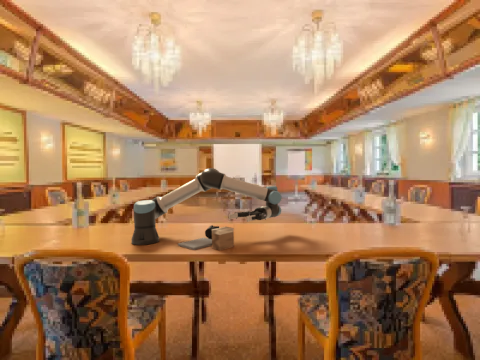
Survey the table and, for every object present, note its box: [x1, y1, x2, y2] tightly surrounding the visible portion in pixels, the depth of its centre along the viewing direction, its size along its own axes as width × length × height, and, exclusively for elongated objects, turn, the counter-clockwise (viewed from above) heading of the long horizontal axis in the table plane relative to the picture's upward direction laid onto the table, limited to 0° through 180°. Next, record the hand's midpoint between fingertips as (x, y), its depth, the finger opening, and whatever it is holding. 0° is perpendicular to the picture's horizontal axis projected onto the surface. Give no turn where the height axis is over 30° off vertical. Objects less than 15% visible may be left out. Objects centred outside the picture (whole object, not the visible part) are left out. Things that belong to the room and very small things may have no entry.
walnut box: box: [211, 226, 235, 251], centre depth 152 cm, size 6×10×10 cm, turn 137°
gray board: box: [177, 237, 212, 251], centre depth 159 cm, size 14×18×1 cm
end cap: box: [204, 224, 220, 239], centre depth 176 cm, size 10×7×7 cm
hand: (237, 217), depth 159 cm, fingers open, 13 cm apart
